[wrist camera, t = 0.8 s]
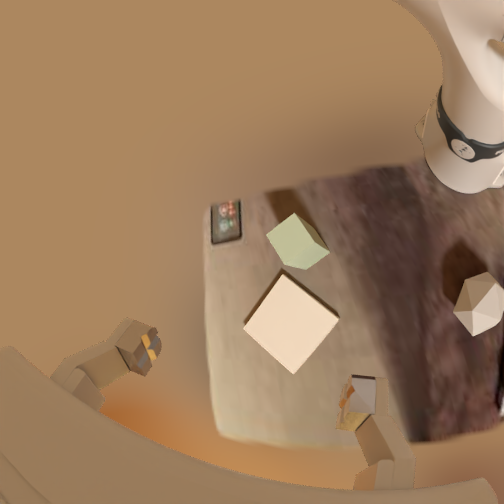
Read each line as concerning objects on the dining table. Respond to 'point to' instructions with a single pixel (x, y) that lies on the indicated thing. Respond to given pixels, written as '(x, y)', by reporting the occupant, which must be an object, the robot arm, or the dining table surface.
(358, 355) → the dining table surface
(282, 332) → the cream tile
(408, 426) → the dining table surface
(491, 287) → the die
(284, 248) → the green block
